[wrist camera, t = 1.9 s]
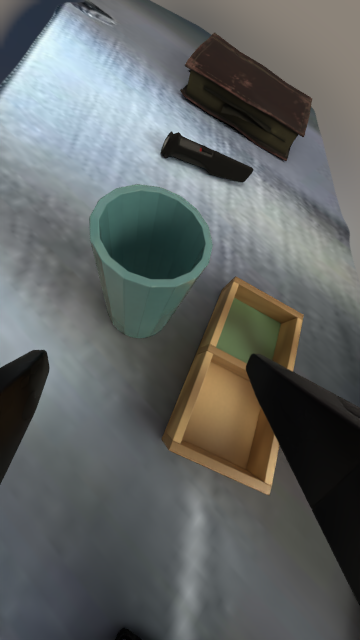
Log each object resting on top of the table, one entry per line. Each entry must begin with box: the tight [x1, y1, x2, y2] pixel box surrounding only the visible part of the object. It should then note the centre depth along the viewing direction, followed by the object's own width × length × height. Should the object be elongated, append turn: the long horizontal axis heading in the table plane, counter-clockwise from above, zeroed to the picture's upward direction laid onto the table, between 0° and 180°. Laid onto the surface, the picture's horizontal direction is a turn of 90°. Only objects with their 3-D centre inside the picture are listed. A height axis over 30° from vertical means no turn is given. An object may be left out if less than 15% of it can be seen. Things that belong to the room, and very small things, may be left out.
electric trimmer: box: [161, 132, 253, 182], centre depth 33 cm, size 4×16×3 cm, turn 81°
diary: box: [180, 33, 312, 161], centre depth 41 cm, size 19×25×5 cm
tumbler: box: [89, 184, 213, 338], centre depth 18 cm, size 7×7×13 cm
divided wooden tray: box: [162, 277, 304, 495], centre depth 23 cm, size 20×10×4 cm, turn 156°
